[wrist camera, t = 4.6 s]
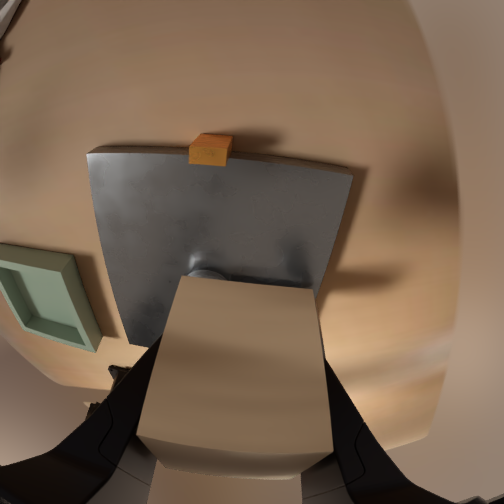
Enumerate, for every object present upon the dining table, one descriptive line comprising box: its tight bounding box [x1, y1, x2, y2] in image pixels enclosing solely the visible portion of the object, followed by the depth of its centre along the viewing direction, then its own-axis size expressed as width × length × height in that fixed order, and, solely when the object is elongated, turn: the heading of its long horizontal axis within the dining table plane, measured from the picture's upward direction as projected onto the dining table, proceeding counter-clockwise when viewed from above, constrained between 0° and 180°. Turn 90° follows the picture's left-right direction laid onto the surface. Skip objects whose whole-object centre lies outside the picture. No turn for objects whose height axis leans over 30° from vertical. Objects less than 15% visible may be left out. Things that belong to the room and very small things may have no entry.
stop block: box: [136, 276, 333, 479], centre depth 8 cm, size 4×4×5 cm
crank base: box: [87, 134, 353, 348], centre depth 22 cm, size 21×17×3 cm
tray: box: [0, 243, 103, 353], centre depth 25 cm, size 12×12×2 cm
